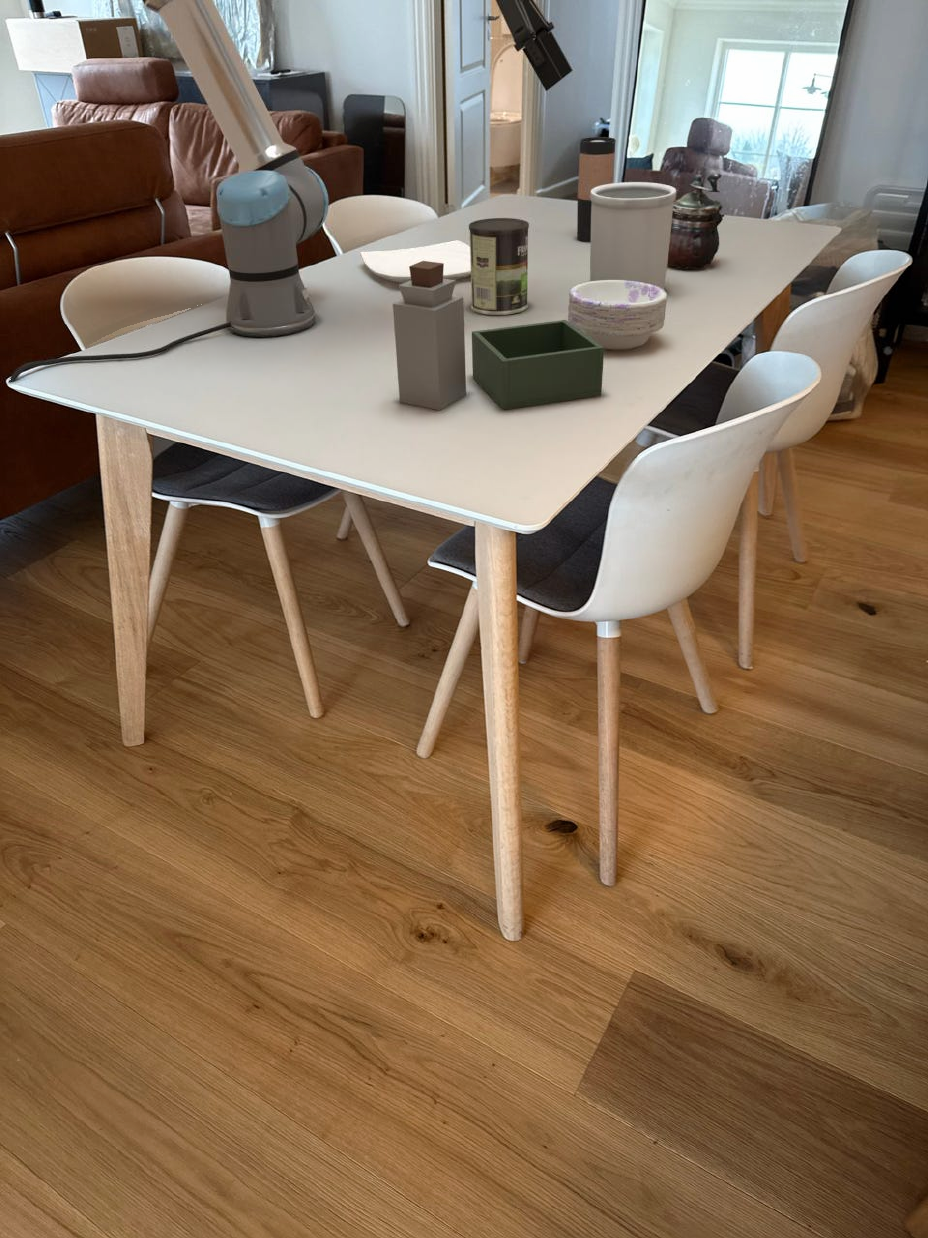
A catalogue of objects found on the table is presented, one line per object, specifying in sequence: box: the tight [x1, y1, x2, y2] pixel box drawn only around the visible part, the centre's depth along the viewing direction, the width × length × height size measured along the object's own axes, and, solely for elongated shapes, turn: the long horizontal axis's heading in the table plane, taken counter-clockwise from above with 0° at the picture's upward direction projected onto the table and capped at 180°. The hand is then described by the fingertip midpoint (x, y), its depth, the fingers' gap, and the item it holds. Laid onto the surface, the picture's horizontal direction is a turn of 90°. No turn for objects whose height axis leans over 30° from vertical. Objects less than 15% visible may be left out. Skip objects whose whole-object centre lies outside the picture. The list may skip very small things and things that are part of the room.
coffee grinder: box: [667, 173, 725, 270], centre depth 176 cm, size 13×15×18 cm
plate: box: [359, 239, 471, 284], centre depth 184 cm, size 24×24×3 cm
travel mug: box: [576, 136, 617, 243], centre depth 198 cm, size 8×8×20 cm
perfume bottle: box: [392, 261, 467, 411], centre depth 122 cm, size 7×7×18 cm
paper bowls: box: [567, 280, 668, 351], centre depth 143 cm, size 15×15×8 cm
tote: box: [471, 319, 605, 411], centre depth 128 cm, size 15×14×7 cm
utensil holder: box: [589, 181, 677, 291], centre depth 163 cm, size 15×15×18 cm
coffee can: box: [468, 217, 530, 316], centre depth 158 cm, size 10×10×14 cm
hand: (560, 80), depth 140 cm, fingers open, 13 cm apart
